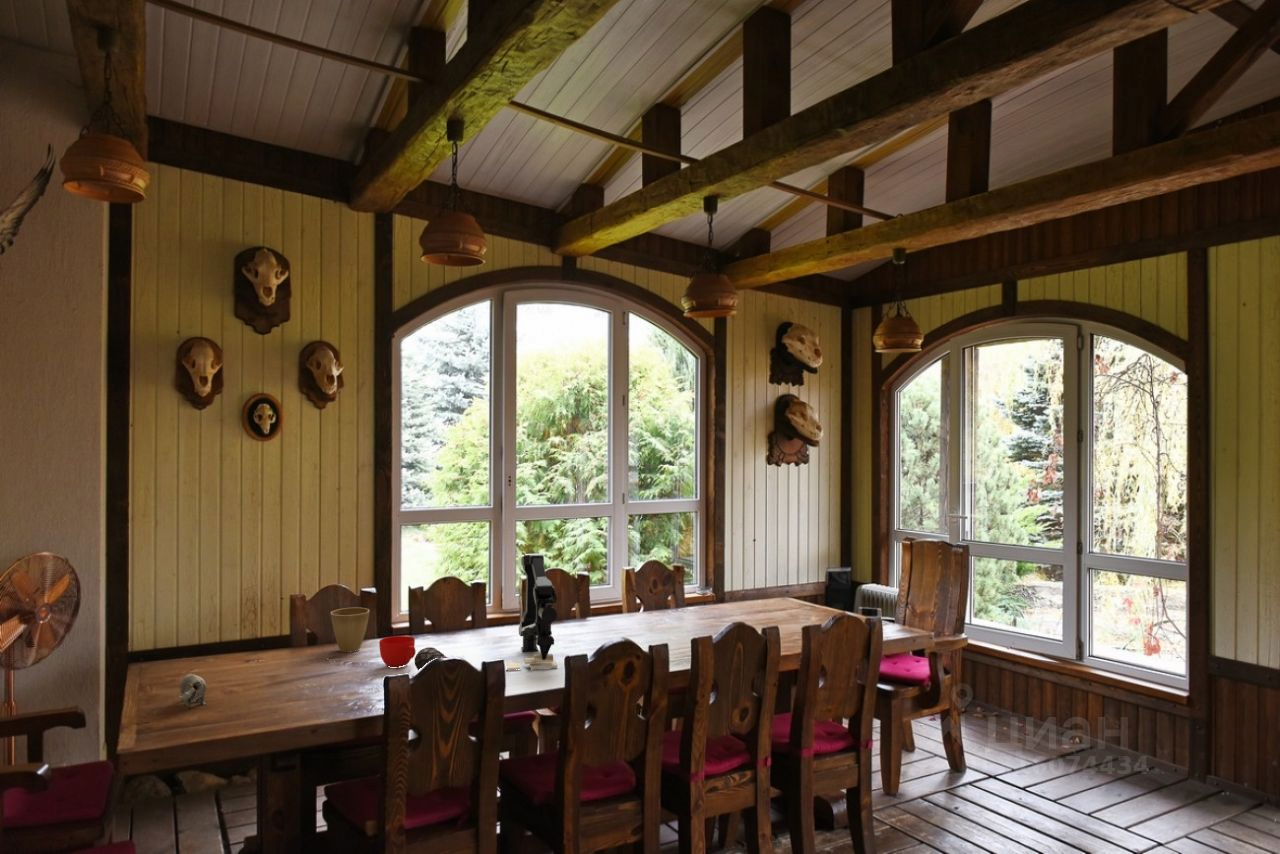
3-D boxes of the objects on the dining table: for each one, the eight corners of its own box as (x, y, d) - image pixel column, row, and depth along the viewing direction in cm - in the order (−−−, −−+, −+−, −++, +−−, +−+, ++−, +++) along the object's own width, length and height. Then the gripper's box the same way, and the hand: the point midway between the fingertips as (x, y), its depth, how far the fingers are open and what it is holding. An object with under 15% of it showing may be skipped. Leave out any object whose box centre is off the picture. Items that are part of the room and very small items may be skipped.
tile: (498, 663, 313) (501, 668, 306) (516, 661, 316) (520, 667, 308) (498, 667, 313) (501, 673, 306) (516, 666, 316) (520, 671, 308)
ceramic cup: (399, 674, 301) (400, 647, 301) (371, 667, 311) (372, 640, 312) (428, 667, 311) (428, 640, 312) (400, 660, 322) (400, 634, 322)
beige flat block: (524, 660, 314) (524, 654, 314) (551, 659, 316) (551, 652, 316) (525, 664, 309) (525, 657, 309) (553, 662, 311) (553, 656, 311)
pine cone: (438, 684, 289) (438, 655, 290) (408, 675, 301) (408, 647, 301) (462, 678, 297) (462, 650, 298) (432, 669, 309) (432, 642, 309)
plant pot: (328, 648, 340) (329, 609, 340) (366, 644, 346) (367, 606, 346) (331, 656, 326) (332, 616, 327) (371, 652, 333) (371, 613, 333)
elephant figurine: (207, 687, 276) (204, 657, 268) (209, 720, 266) (206, 690, 258) (181, 692, 272) (176, 662, 264) (182, 726, 263) (178, 696, 255)
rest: (529, 665, 315) (529, 661, 315) (555, 663, 317) (555, 660, 317) (530, 669, 308) (530, 666, 308) (557, 668, 310) (557, 665, 310)
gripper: (520, 613, 321) (520, 653, 320) (524, 623, 302) (523, 666, 302) (549, 612, 323) (549, 652, 323) (554, 622, 305) (554, 664, 304)
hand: (543, 658), depth 313 cm, fingers closed on beige flat block, 3 cm apart
